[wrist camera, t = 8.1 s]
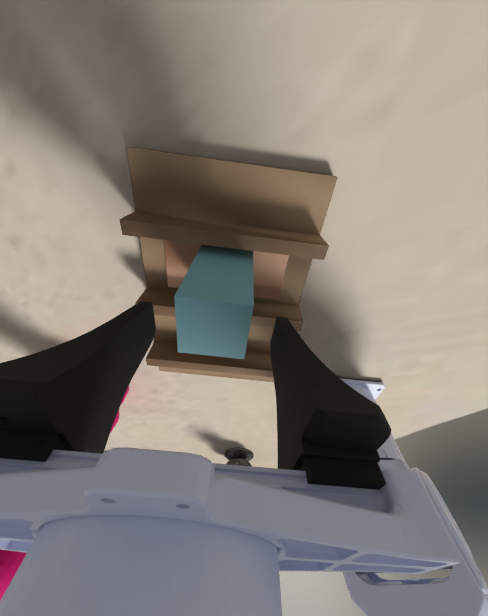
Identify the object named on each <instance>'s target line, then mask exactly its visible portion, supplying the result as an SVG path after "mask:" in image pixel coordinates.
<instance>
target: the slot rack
mask: <svg viewBox="0 0 488 616" xmlns="http://www.w3.org/2000/svg"><path fill="white" fill-rule="evenodd" d="M126 149H127V155H128V162H129V169H130V176H131V182H132V189H133V196H134V203H135V209H136V211H135V212H133V213H131V214H129V215H127V216H125V217H123V218H121V219H120V224H121V229H122V235H129V236H137V237H140V243H141V250H142V257H143V264H144V270H145V277H146V284H147V289H146V290H145V291H144V292H143V294H142V295H141V296H140V298H139V299H138V300H137V302H136V304H138V303H139V302H141V301H145V302H152V303H153V310H154V317H155V325H156V332H155V334H154V338H155V342H154V344H153V346H152V347H151V349H150V351H149V353H148V355H147V357H146V361H147V365H152V366H159V371H168V372H178V373H188V374H198V375H208V376H218V377H229V378H239V379H249V380H259V381H269V382H274V377H273V371H272V364H271V352H270V342H271V338H272V334H273V330H274V326H275V322H276V318H277V317H286V318H288V320H289V321H290V322H291V324H292V325H293V327H294V328H295V330H299V331H300V329H301V326H302V323H303V320H302V316H301V313H300V310H299V307H298V304H299V300H300V297H301V294H302V291H303V287H304V284H305V281H306V278H307V274H308V271H309V268H310V265H311V261H312V258H314V259H322V260H324V259H325V256H326V253H327V250H328V247H329V246H328V244H327V243H326V242H325V241H324V239H323V238H322V237H321V236H320V232H321V229H322V226H323V223H324V219H325V216H326V213H327V210H328V206H329V203H330V200H331V197H332V193H333V190H334V187H335V184H336V180H337V177H336V176H332V175H325V174H318V173H311V172H304V171H297V170H289V169H282V168H275V167H268V166H261V165H254V164H247V163H240V162H233V161H226V160H218V159H211V158H204V157H197V156H190V155H183V154H176V153H169V152H162V151H154V150H147V149H140V148H133V147H126ZM201 245H209V246H217V247H225V248H233V249H242V250H250V251H253V279H254V307H253V313H252V318H251V324H250V330H249V335H248V341H247V346H246V352H245V358H244V359H237V358H227V357H218V356H208V355H199V354H190V353H180V352H178V345H177V329H176V314H175V298H174V296H175V294H176V292H177V290H178V288H179V286H180V284H181V283H182V281H183V279H184V277H185V275H186V273H187V271H188V270H189V268H190V266H191V264H192V262H193V260H194V258H195V256H196V255H197V253H198V251H199V249H200V247H201Z"/></svg>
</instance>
